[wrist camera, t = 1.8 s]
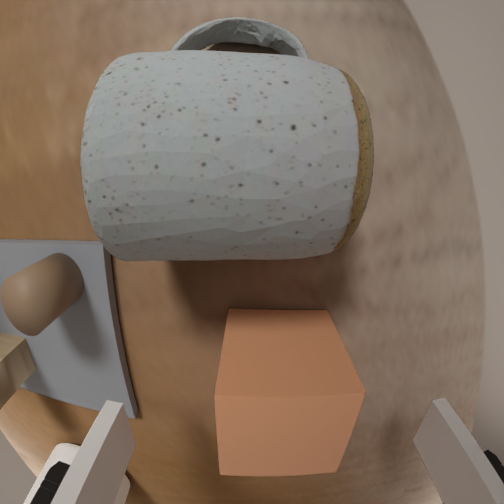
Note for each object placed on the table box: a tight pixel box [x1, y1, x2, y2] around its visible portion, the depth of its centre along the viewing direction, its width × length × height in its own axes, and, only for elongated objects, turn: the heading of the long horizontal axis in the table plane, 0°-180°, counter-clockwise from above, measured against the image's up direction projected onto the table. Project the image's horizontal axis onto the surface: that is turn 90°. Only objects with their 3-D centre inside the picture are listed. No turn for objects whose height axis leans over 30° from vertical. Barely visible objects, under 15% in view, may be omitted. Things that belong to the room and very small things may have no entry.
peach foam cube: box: [214, 308, 366, 476], centre depth 13 cm, size 5×5×7 cm
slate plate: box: [0, 239, 138, 418], centre depth 14 cm, size 12×14×5 cm
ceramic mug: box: [80, 17, 374, 261], centre depth 10 cm, size 11×8×8 cm
